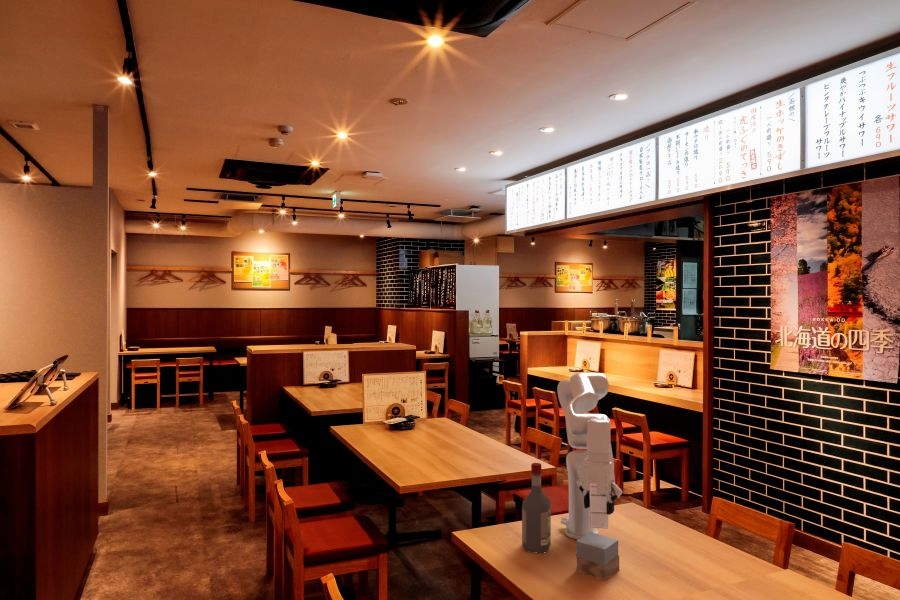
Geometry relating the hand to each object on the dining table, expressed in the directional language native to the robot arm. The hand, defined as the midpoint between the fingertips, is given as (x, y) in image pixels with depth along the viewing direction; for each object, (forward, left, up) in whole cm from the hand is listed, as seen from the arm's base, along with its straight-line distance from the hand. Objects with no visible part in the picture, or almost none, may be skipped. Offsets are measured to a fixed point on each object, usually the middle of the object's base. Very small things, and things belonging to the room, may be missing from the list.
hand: (598, 510), depth 190 cm
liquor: (-25, 0, -20) cm, 32 cm away
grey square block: (-1, 0, -15) cm, 15 cm away
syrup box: (0, 0, -5) cm, 5 cm away
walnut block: (0, 0, -20) cm, 20 cm away
